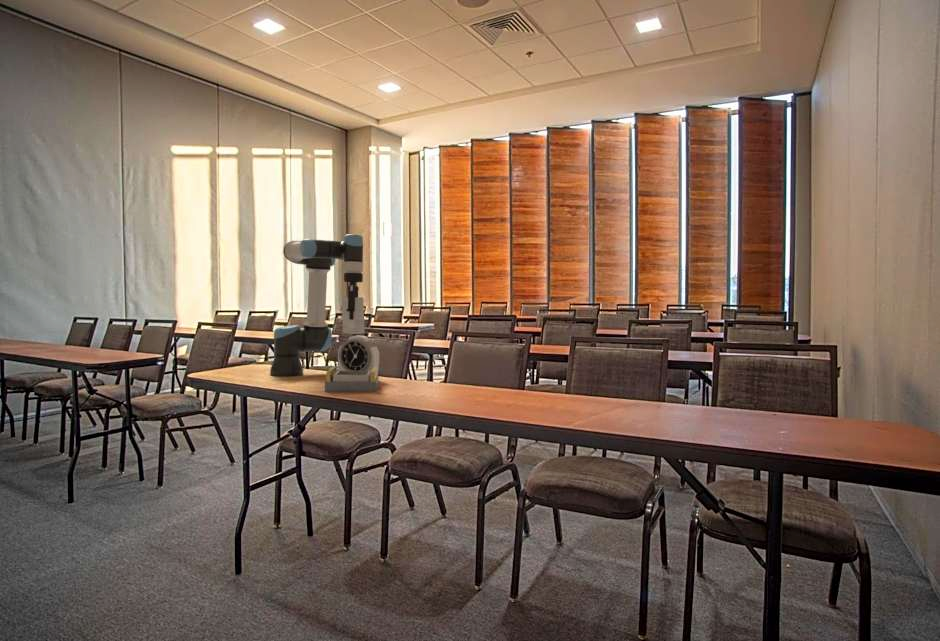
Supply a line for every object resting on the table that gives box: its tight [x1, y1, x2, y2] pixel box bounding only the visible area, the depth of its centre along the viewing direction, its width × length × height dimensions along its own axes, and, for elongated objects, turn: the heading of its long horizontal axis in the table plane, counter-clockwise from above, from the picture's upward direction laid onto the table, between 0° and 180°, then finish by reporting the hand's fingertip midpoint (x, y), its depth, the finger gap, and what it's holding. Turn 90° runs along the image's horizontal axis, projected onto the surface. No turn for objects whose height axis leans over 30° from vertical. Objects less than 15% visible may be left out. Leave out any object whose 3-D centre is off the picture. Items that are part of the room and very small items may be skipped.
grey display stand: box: [324, 366, 379, 393], centre depth 235 cm, size 16×20×9 cm
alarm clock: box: [337, 335, 380, 375], centre depth 258 cm, size 18×8×20 cm, turn 73°
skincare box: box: [341, 297, 366, 335], centre depth 233 cm, size 8×6×15 cm
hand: (353, 327), depth 234 cm, fingers closed on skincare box, 10 cm apart
